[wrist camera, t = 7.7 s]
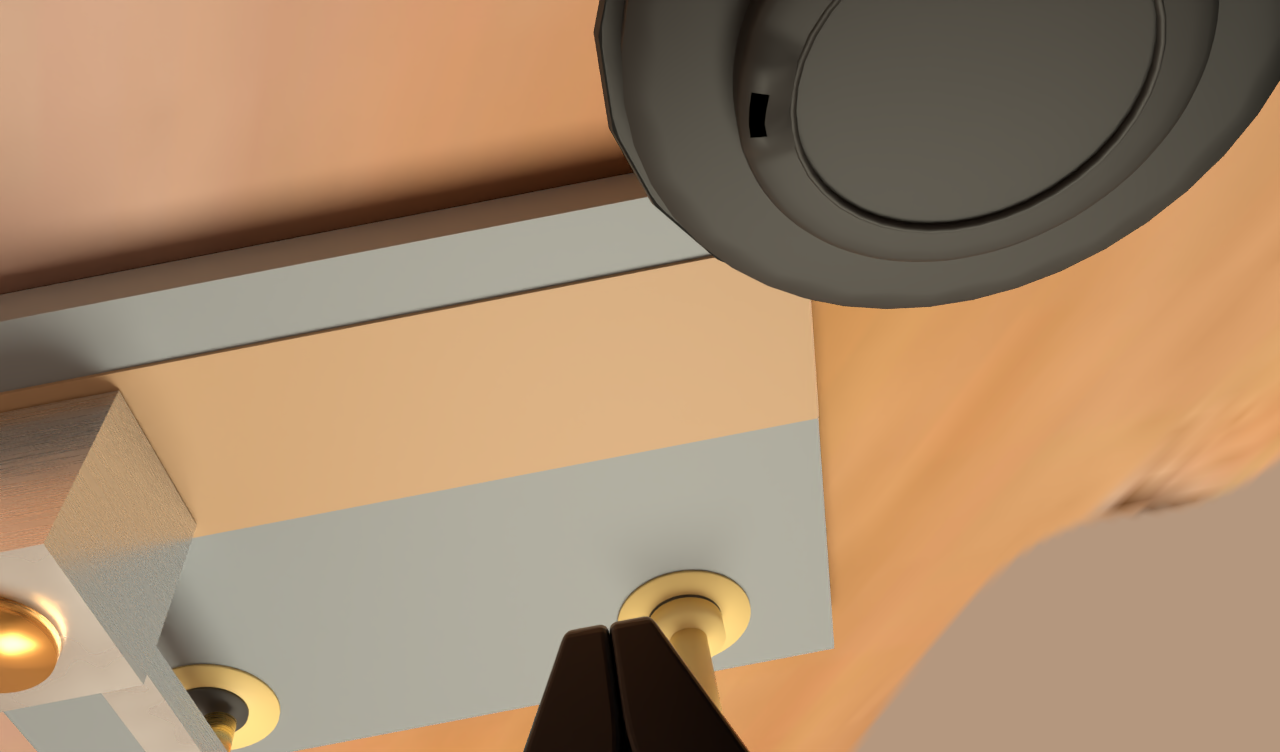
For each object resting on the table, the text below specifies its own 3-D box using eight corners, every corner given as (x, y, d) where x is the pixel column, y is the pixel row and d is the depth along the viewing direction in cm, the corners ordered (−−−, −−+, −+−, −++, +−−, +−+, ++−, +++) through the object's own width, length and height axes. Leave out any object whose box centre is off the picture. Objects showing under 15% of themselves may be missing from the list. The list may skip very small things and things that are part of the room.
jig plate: (787, 142, 22) (859, 274, 17) (823, 615, 31) (877, 780, 26) (-251, 343, 22) (-439, 524, 17) (86, 756, 31) (18, 944, 26)
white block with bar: (119, 390, 22) (37, 556, 18) (300, 706, 28) (269, 877, 24) (-69, 426, 22) (-191, 600, 18) (156, 733, 28) (102, 909, 24)
